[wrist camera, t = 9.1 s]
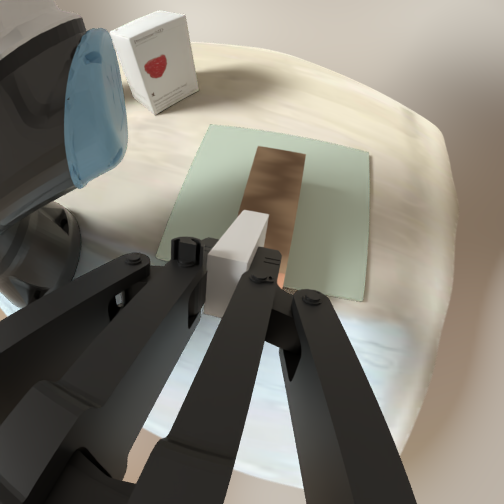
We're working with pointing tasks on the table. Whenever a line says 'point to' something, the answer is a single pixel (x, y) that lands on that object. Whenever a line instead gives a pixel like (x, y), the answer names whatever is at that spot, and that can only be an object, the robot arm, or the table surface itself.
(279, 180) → the walnut block
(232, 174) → the mat
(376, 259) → the table surface
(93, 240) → the table surface
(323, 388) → the robot arm
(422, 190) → the table surface
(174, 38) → the supplement box
